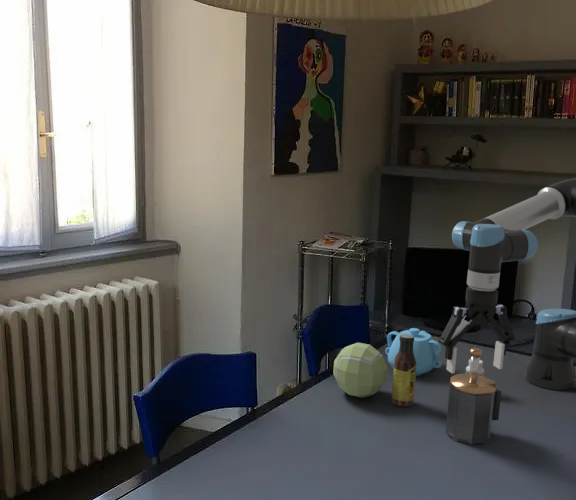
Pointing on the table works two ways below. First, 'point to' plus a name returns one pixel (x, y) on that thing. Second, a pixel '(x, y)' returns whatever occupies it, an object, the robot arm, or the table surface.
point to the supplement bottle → (480, 371)
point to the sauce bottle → (404, 373)
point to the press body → (471, 416)
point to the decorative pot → (416, 350)
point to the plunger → (473, 378)
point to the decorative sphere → (360, 370)
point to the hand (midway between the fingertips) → (474, 369)
